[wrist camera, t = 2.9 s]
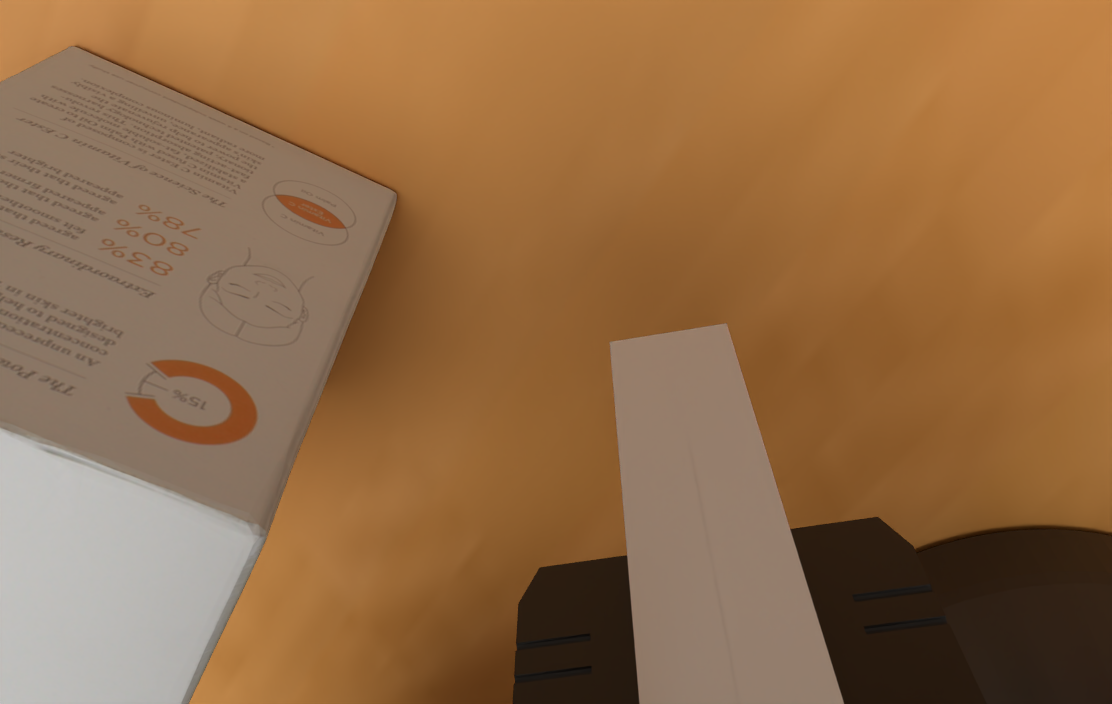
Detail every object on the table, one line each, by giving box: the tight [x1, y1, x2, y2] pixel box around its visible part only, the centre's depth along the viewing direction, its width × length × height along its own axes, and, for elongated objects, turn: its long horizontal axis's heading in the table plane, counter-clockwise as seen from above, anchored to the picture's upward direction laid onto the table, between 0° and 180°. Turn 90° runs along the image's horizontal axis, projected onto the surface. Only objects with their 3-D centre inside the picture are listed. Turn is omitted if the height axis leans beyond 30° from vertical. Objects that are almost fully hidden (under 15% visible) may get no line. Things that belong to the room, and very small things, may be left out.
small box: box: [0, 46, 397, 704], centre depth 20 cm, size 8×6×13 cm
